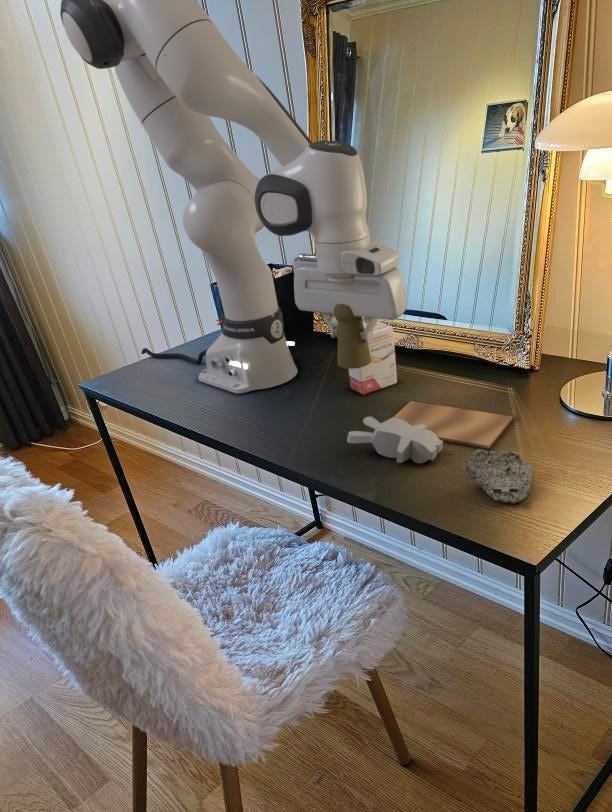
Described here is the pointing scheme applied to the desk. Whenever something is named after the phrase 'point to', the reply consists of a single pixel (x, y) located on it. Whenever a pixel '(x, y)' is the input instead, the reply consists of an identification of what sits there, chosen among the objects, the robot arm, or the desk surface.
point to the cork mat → (456, 423)
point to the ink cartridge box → (376, 362)
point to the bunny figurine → (399, 440)
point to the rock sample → (501, 474)
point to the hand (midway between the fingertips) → (352, 339)
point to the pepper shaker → (350, 339)
